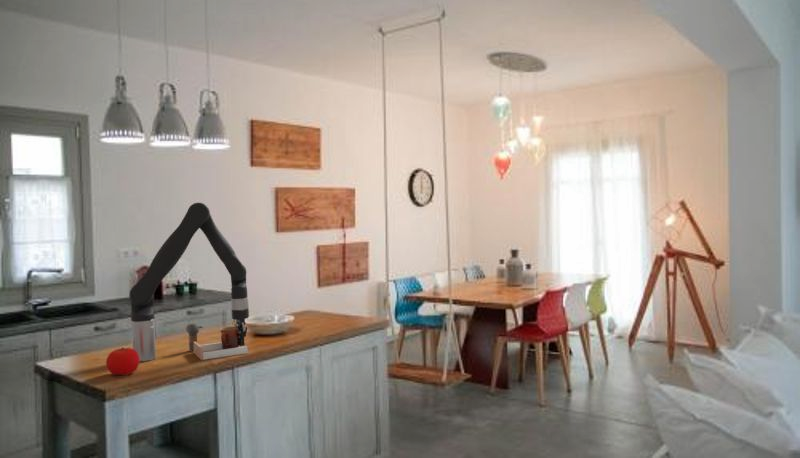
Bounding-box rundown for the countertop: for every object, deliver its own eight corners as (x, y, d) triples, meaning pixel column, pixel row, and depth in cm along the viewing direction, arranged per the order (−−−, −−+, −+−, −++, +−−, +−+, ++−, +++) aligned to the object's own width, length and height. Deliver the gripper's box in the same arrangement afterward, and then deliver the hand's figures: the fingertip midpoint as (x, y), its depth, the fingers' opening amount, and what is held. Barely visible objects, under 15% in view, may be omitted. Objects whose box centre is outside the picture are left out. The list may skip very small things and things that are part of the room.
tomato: (145, 369, 240) (144, 344, 240) (129, 378, 228) (128, 351, 228) (118, 370, 241) (117, 344, 240) (101, 378, 229) (100, 351, 228)
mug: (225, 348, 274) (225, 326, 273) (243, 348, 272) (243, 326, 272) (213, 354, 262) (212, 331, 262) (232, 355, 261) (231, 332, 260)
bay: (201, 360, 254) (200, 348, 253) (193, 352, 267) (193, 341, 267) (247, 353, 264) (247, 342, 263) (238, 346, 277) (238, 335, 277)
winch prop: (188, 352, 268) (187, 325, 267) (186, 350, 272) (185, 323, 271) (204, 350, 271) (203, 323, 271) (202, 348, 275) (201, 321, 275)
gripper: (228, 306, 273) (229, 344, 274) (235, 310, 262) (237, 349, 263) (244, 305, 277) (245, 341, 278) (252, 308, 266) (254, 347, 266)
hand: (241, 345), depth 270 cm, fingers closed
